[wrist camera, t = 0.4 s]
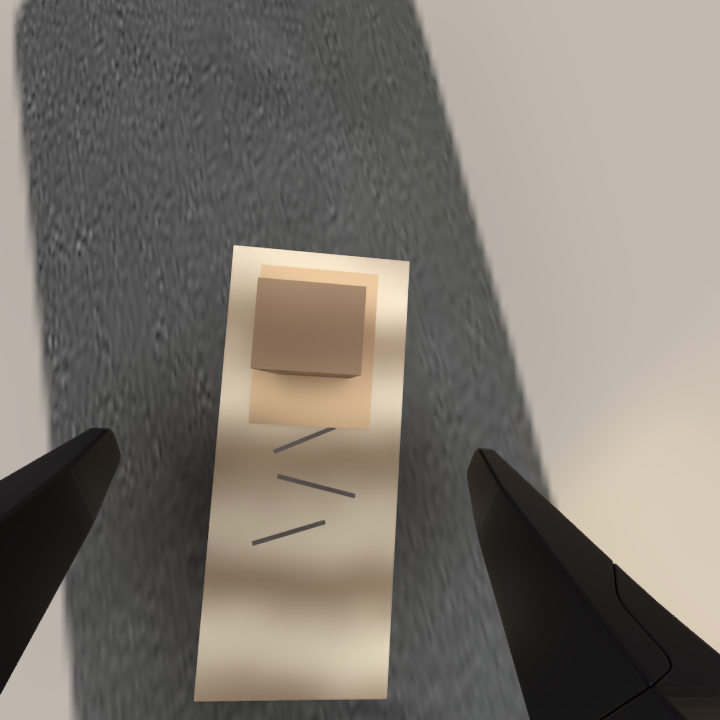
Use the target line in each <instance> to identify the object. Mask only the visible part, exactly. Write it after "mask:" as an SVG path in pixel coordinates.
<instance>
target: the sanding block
mask: <svg viewBox="0 0 720 720" xmlns="http://www.w3.org/2000/svg"><path fill="white" fill-rule="evenodd" d="M377 292H378V275H377V274H366V273H354V272H343V271H332V270H320V269H309V268H298V267H286V266H275V265H264V264H261V276H260V277H258V283H257V295H256V307H255V319H254V331H253V343H252V355H251V367H250V368H252V369H253V373H252V385H251V397H250V409H249V422H248V423H252V424H271V425H291V426H311V427H330V428H350V429H370V412H371V395H372V378H373V360H374V343H375V326H376V309H377Z"/></svg>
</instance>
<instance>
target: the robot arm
mask: <svg viewBox="0 0 720 720" xmlns="http://www.w3.org/2000/svg"><path fill="white" fill-rule="evenodd" d="M120 457H121V453H120V449H119V446H118V444H117V441H116V438H115V435H114V432H113V431H112V430H111V429H109V428H91V429H88V430H86V431H85V432H83V433H81V434H80V435H78V436H76V437H74V438H73V439H71V440H69V441H67V442H66V443H64V444H62V445H61V446H59V447H57V448H55V449H54V450H52V451H50V452H48V453H47V454H45V455H43V456H42V457H40V458H38V459H36V460H35V461H33V462H31V463H30V464H28V465H26V466H24V467H22V468H21V469H19V470H17V471H16V472H14V473H12V474H10V475H9V476H7V477H5V478H3V479H2V480H0V694H1V693H2V691H3V689H4V687H5V685H6V683H7V682H8V679H9V678H10V676H11V674H12V672H13V670H14V669H15V667H16V665H17V663H18V661H19V660H20V658H21V656H22V654H23V652H24V650H25V649H26V647H27V645H28V643H29V641H30V639H31V638H32V636H33V634H34V632H35V630H36V628H37V626H38V625H39V623H40V621H41V619H42V617H43V616H44V614H45V612H46V610H47V608H48V606H49V605H50V603H51V601H52V599H53V597H54V595H55V594H56V592H57V590H58V588H59V586H60V584H61V583H62V581H63V579H64V577H65V575H66V573H67V572H68V570H69V568H70V566H71V564H72V562H73V561H74V559H75V557H76V555H77V553H78V551H79V550H80V548H81V546H82V544H83V542H84V540H85V539H86V537H87V535H88V533H89V531H90V529H91V527H92V525H93V523H94V521H95V519H96V517H97V515H98V513H99V510H100V508H101V505H102V503H103V501H104V498H105V496H106V493H107V491H108V488H109V486H110V484H111V481H112V479H113V476H114V474H115V472H116V469H117V467H118V464H119V462H120ZM467 480H468V485H469V491H470V497H471V503H472V508H473V514H474V520H475V526H476V531H477V535H478V539H479V543H480V547H481V550H482V554H483V557H484V561H485V564H486V568H487V571H488V575H489V578H490V582H491V585H492V589H493V592H494V596H495V599H496V603H497V606H498V610H499V613H500V617H501V620H502V624H503V627H504V631H505V634H506V638H507V641H508V645H509V648H510V652H511V655H512V658H513V662H514V665H515V669H516V672H517V676H518V679H519V683H520V686H521V690H522V693H523V697H524V700H525V704H526V707H527V711H528V714H529V718H530V720H720V654H719V653H718V652H716V651H715V650H714V649H713V648H712V647H711V646H709V645H708V644H707V643H706V642H705V641H703V640H702V639H701V638H700V637H699V636H697V635H696V634H695V633H694V632H692V631H691V630H690V629H689V628H688V627H686V626H685V625H684V624H683V623H682V622H680V621H679V620H678V619H677V618H676V617H675V616H674V615H672V614H671V613H670V612H669V611H668V610H667V609H665V608H664V607H663V606H662V605H661V604H659V603H658V602H657V601H656V600H655V599H654V598H653V597H652V596H651V595H649V594H648V593H647V592H646V591H645V590H644V589H643V588H642V587H641V586H639V585H638V584H637V583H636V582H635V581H634V580H633V579H632V578H631V577H630V576H628V575H627V574H626V573H625V572H624V571H623V570H622V569H621V568H620V567H619V566H618V565H617V564H613V561H612V560H611V559H610V558H609V557H608V556H607V555H606V554H605V553H604V552H603V551H602V550H600V549H599V548H598V547H597V546H596V545H595V544H594V543H593V542H592V541H591V540H590V539H588V537H587V536H585V535H584V534H583V533H582V532H581V531H580V530H579V529H578V528H577V527H576V526H575V525H574V524H573V523H571V522H570V521H569V520H568V519H567V518H566V517H565V516H564V515H563V514H562V513H561V512H560V511H559V510H558V509H557V508H555V507H554V506H553V505H552V504H551V503H550V502H549V501H548V500H547V499H546V498H545V497H544V496H543V495H542V494H540V493H539V492H538V491H537V490H536V489H535V488H534V487H533V486H532V485H531V484H530V483H529V482H528V481H526V480H525V479H524V478H523V477H522V476H521V475H520V474H519V473H518V472H517V471H516V470H515V469H514V468H513V467H511V466H510V465H509V464H508V463H507V462H506V461H505V460H504V459H503V458H502V457H501V456H500V455H499V454H498V453H496V452H495V451H494V450H492V449H484V448H478V449H476V450H475V452H474V454H473V457H472V459H471V462H470V465H469V467H468V470H467Z"/></svg>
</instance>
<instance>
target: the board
mask: <svg viewBox="0 0 720 720" xmlns="http://www.w3.org/2000/svg"><path fill="white" fill-rule="evenodd" d="M261 264H264V265H275V266H286V267H298V268H309V269H320V270H332V271H343V272H354V273H366V274H377V275H378V292H377V309H376V326H375V343H374V360H373V378H372V395H371V412H370V429H350V428H330V427H311V426H291V425H271V424H252V423H248V422H249V409H250V397H251V385H252V373H253V369H252V368H250V367H251V355H252V343H253V331H254V319H255V307H256V295H257V283H258V277H260V276H261ZM408 280H409V262H408V261H397V260H387V259H376V258H365V257H354V256H343V255H332V254H321V253H311V252H300V251H289V250H278V249H267V248H256V247H246V246H235V245H234V251H233V262H232V273H231V285H230V296H229V307H228V319H227V330H226V341H225V353H224V364H223V375H222V387H221V398H220V409H219V421H218V432H217V443H216V455H215V466H214V477H213V489H212V500H211V511H210V523H209V534H208V545H207V557H206V568H205V579H204V591H203V602H202V613H201V625H200V636H199V647H198V659H197V670H196V681H195V693H194V701H267V700H339V699H387V683H388V664H389V645H390V625H391V606H392V587H393V568H394V549H395V530H396V510H397V491H398V472H399V453H400V434H401V414H402V395H403V376H404V357H405V338H406V319H407V299H408Z"/></svg>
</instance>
